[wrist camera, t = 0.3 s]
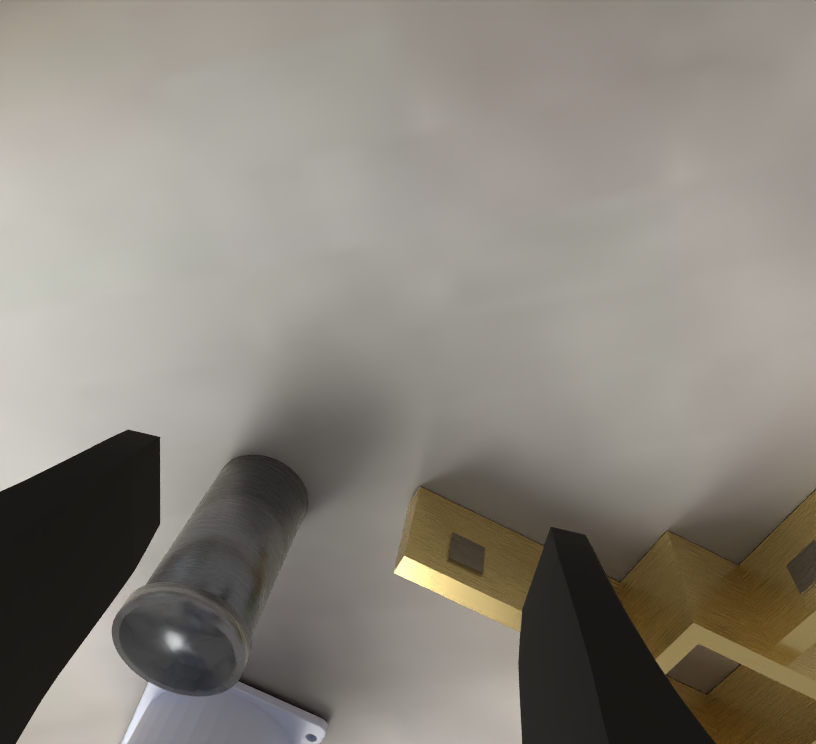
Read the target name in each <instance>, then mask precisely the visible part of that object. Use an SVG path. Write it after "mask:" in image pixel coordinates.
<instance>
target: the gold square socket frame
mask: <svg viewBox="0 0 816 744" xmlns="http://www.w3.org/2000/svg"><path fill="white" fill-rule="evenodd" d="M543 548H544V546H543V545H541V544H538V543H536V542H534V541H532V540H530V539H528V538H526V537H524V536H522V535H520V534H518V533H516V532H514V531H512V530H509V529H507V528H505V527H503V526H501V525H499V524H497V523H495V522H493V521H491V520H489V519H487V518H485V517H482V516H480V515H478V514H476V513H474V512H472V511H470V510H468V509H466V508H464V507H462V506H460V505H458V504H455V503H453V502H451V501H449V500H447V499H445V498H443V497H441V496H439V495H437V494H435V493H433V492H431V491H428V490H426V489H424V488H422V487H419V488H418V490H417V492H416V493H415V495H414V497H413V498H412V500H411V501H410V504H409V509H408V513H407V517H406V521H405V526H404V530H403V534H402V539H401V543H400V547H399V551H398V556H397V560H396V564H395V569H394V573H395V574H397V575H399V576H401V577H404V578H406V579H408V580H410V581H412V582H414V583H416V584H418V585H421V586H423V587H425V588H427V589H429V590H431V591H433V592H436V593H438V594H440V595H442V596H444V597H446V598H448V599H450V600H453V601H455V602H457V603H459V604H461V605H463V606H465V607H468V608H470V609H472V610H474V611H476V612H478V613H480V614H482V615H485V616H487V617H489V618H491V619H493V620H495V621H497V622H500V623H502V624H504V625H506V626H508V627H510V628H512V629H514V630H517V631H519V632H520V631H521V618H522V608H523V605H524V603H525V600H526V597H527V594H528V591H529V588H530V585H531V582H532V580H533V577H534V574H535V571H536V568H537V565H538V562H539V559H540V557H541V554H542V551H543ZM608 579H609V581H610V583H611V585H612V586H613V588H614V590H615V592H616V594H617V596H618V598H619V599H620V601H621V603H622V605H623V607H624V608H625V610H626V612H627V614H628V615H629V617H630V619H631V620H632V622H633V624H634V625H635V627H636V629H637V631H638V632H639V634H640V636H641V637H642V639H643V641H644V642H645V644H646V646H647V647H648V649H649V650H650V652H651V654H652V655H653V657H654V659H655V660H656V662H657V663H658V665H659V666H660V668H661V669H662V671H663V672H664V674H665V675H666V674H667V673H668V672H669V671H670V670H671V669H672V668H673V667H674V666H675V665H676V664H677V663H678V662H679V661H680V660H682V659H683V658H684V657H685V656H686V655H687V654H688V653H689V652H690V651H691V650H692V649H693V648H694V647H695V646H696V645H698V644H700V645H702V646H704V647H706V648H708V649H710V650H712V651H715V652H717V653H719V654H721V655H723V656H725V657H727V658H729V659H731V660H733V661H735V662H738V663H740V664H742V665H740V666H739V667H738V668H737V669H736V670H735V671H734V672H732V673H731V674H730V675H729V676H728V677H727V678H726V679H724V680H723V681H722V682H721V683H720V684H719V685H718V686H716V687H715V688H714V689H713V690H712V691H711V692H710V693H708V694H707V695H706V694H703V693H701V692H699V691H697V690H695V689H693V688H691V687H689V686H686V685H684V684H682V683H680V682H678V681H676V680H674V679H672V678H670V677H667V676H666V677H667V678H668V680H669V681H670V683H671V684H672V686H673V687H674V689H675V690H676V692H677V693H678V694H679V696H680V697H681V699H682V700H683V701H684V703H685V704H686V706H687V707H688V708H689V709H690V711H691V712H692V713H693V715H694V716H695V717H696V719H697V720H698V721H699V722H700V724H701V725H702V726H703V728H704V729H705V730H706V732H707V733H708V734H709V735H710V737H711V738H712V739H713V741H714V742H715V743H716V744H816V490H815V491H814V492H813V493H812V494H811V495H810V496H809V497H808V498H807V499H806V500H805V501H804V502H803V503H802V504H801V505H800V506H799V507H798V508H797V509H796V510H795V511H794V512H793V513H792V514H791V515H789V516H788V517H787V518H786V519H785V520H784V521H783V522H782V523H781V524H780V525H779V526H778V527H777V528H776V529H775V530H774V531H773V532H772V533H771V534H770V535H769V536H768V537H767V538H766V539H765V540H764V541H763V542H762V543H761V544H760V545H759V546H758V547H757V548H756V549H755V550H754V551H753V552H752V553H751V554H750V555H749V556H748V557H747V558H746V559H745V560H744V561H743V562H742V563H741V564H739V565H736V564H734V563H732V562H730V561H728V560H726V559H724V558H722V557H720V556H718V555H716V554H714V553H712V552H710V551H708V550H706V549H704V548H702V547H700V546H698V545H696V544H694V543H692V542H690V541H688V540H685V539H683V538H681V537H679V536H677V535H675V534H673V533H671V532H669V531H667V532H666V533H665V534H664V535H663V536H662V537H661V538H660V539H659V540H658V542H657V543H656V544H655V545H654V546H653V547H652V548H651V549H650V550H649V551H648V553H647V554H646V555H645V556H644V557H643V558H642V559H641V560H640V561H639V562H638V564H637V565H636V566H635V567H634V568H633V569H632V570H631V571H630V572H629V573H628V574H627V576H626V577H625V578H624V579H623V580H622V581H621V582H620V583H619V582H617V581H615V580H613V579H611V578H609V577H608Z"/></svg>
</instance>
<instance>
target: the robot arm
mask: <svg viewBox="0 0 816 744" xmlns="http://www.w3.org/2000/svg"><path fill="white" fill-rule="evenodd" d="M159 525H160V437H158V436H153V435H149V434H145V433H140V432H136V431H132V430H126V431H124V432H122V433H120V434H117V435H115V436H113V437H111V438H109V439H107V440H105V441H103V442H101V443H99V444H97V445H95V446H93V447H91V448H89V449H87V450H85V451H83V452H81V453H79V454H77V455H75V456H73V457H71V458H69V459H67V460H65V461H63V462H61V463H59V464H57V465H55V466H53V467H51V468H49V469H47V470H45V471H43V472H41V473H39V474H37V475H35V476H33V477H31V478H29V479H27V480H25V481H23V482H21V483H19V484H16V485H14V486H12V487H10V488H7V489H5V490H3V491H1V492H0V744H16V742H17V740H18V739H19V737H20V735H21V734H22V732H23V730H24V729H25V727H26V725H27V724H28V722H29V720H30V719H31V717H32V715H33V714H34V712H35V710H36V709H37V707H38V705H39V704H40V702H41V700H42V699H43V697H44V696H45V694H46V693H47V691H48V690H49V688H50V687H51V685H52V684H53V682H54V681H55V679H56V678H57V676H58V675H59V674H60V672H61V671H62V670H63V668H64V667H65V666H66V664H67V663H68V661H69V660H70V659H71V657H72V656H73V655H74V653H75V652H76V651H77V649H78V648H79V646H80V645H81V644H82V642H83V641H84V640H85V638H86V637H87V636H88V634H89V633H90V631H91V630H92V629H93V627H94V626H95V625H96V623H97V622H98V621H99V619H100V618H101V617H102V615H103V614H104V612H105V611H106V610H107V608H108V607H109V606H110V604H111V603H112V601H113V600H114V599H115V597H116V596H117V594H118V593H119V592H120V590H121V589H122V588H123V586H124V585H125V583H126V582H127V581H128V579H129V578H130V576H131V575H132V573H133V572H134V571H135V569H136V567H137V565H138V563H139V562H140V560H141V558H142V556H143V555H144V553H145V551H146V549H147V547H148V546H149V544H150V542H151V540H152V538H153V536H154V534H155V532H156V530H157V528H158V527H159ZM518 664H519V687H520V708H521V726H522V744H716V743H715V742H714V741H713V739H712V738H711V737H710V735H709V734H708V733H707V732H706V730H705V729H704V728H703V726H702V725H701V724H700V722H699V721H698V720H697V719H696V717H695V716H694V715H693V713H692V712H691V711H690V709H689V708H688V707H687V706H686V704H685V703H684V701H683V700H682V699H681V697H680V696H679V694H678V693H677V692H676V690H675V689H674V687H673V686H672V684H671V683H670V681H669V680H668V678H667V677H666V675H665V674H664V672H663V671H662V669H661V668H660V666H659V665H658V663H657V662H656V660H655V659H654V657H653V655H652V654H651V652H650V650H649V649H648V647H647V646H646V644H645V642H644V641H643V639H642V637H641V636H640V634H639V632H638V631H637V629H636V627H635V625H634V624H633V622H632V620H631V619H630V617H629V615H628V614H627V612H626V610H625V608H624V607H623V605H622V603H621V601H620V599H619V598H618V596H617V594H616V592H615V590H614V588H613V586H612V585H611V583H610V581H609V579H608V577H607V575H606V573H605V571H604V569H603V567H602V566H601V564H600V562H599V560H598V558H597V556H596V554H595V552H594V550H593V548H592V546H591V544H590V542H589V540H588V539H587V537H586V536H585V535H584V534H579V533H575V532H570V531H566V530H562V529H557V528H553V527H551V528H550V531H549V534H548V536H547V539H546V542H545V545H544V548H543V551H542V554H541V557H540V559H539V562H538V565H537V568H536V571H535V574H534V577H533V580H532V582H531V585H530V588H529V591H528V594H527V597H526V600H525V603H524V605H523V608H522V618H521V631H520V646H519V663H518ZM327 729H328V724H327V722H326V721H325V720H323V719H322V718H320V717H317V716H315V715H313V714H311V713H309V712H306V711H304V710H302V709H300V708H297V707H295V706H293V705H291V704H288V703H286V702H284V701H282V700H279V699H277V698H275V697H273V696H270V695H268V694H266V693H264V692H261V691H259V690H257V689H255V688H252V687H250V686H248V685H246V684H243V683H241V682H239V681H238V682H237V683H236V684H235V685H234V686H233V687H232V688H230V689H229V690H227V691H225V692H223V693H220V694H216V695H211V696H202V697H198V696H186V695H181V694H176V693H173V692H170V691H167V690H164V689H162V688H159V687H157V686H155V685H153V684H151V683H150V682H148V684H147V686H146V688H145V690H144V693H143V695H142V697H141V700H140V702H139V704H138V706H137V709H136V711H135V713H134V715H133V718H132V720H131V722H130V725H129V727H128V729H127V731H126V734H125V736H124V738H123V741H122V743H121V744H320V743H321V741H322V740H323V739H324V737H325V736H326V733H327Z"/></svg>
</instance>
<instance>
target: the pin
mask: <svg viewBox="0 0 816 744" xmlns="http://www.w3.org/2000/svg"><path fill="white" fill-rule="evenodd" d="M307 504H308V498H307V493H306V489H305V487H304V485H303V483H302V481H301V480H300V478H299V477H298V476H297V475H296V474H295V473H294V472H293V471H292V470H291V469H290V468H289V467H287V466H286V465H284V464H283V463H281V462H279V461H277V460H274V459H272V458H269V457H265V456H258V455H248V456H242V457H239V458H236V459H234V460H232V461H231V462H229V463H228V464H227V465H226V466H225V467H224V468H223V469H222V471H221V472H220V474H219V475H218V477H217V478H216V480H215V481H214V483H213V484H212V486H211V487H210V489H209V490H208V492H207V493H206V495H205V496H204V498H203V499H202V501H201V502H200V504H199V505H198V507H197V508H196V510H195V511H194V513H193V514H192V516H191V517H190V519H189V520H188V522H187V523H186V525H185V526H184V528H183V529H182V531H181V532H180V534H179V535H178V537H177V538H176V540H175V541H174V543H173V545H172V546H171V548H170V549H169V551H168V552H167V554H166V555H165V557H164V558H163V560H162V561H161V563H160V564H159V566H158V567H157V569H156V570H155V572H154V573H153V575H152V576H151V578H150V579H149V581H148V582H147V584H146V585H145V586H143V587H141V588H139V589H137V590H136V591H135V592H133V593H132V594H131V595H130V597H129V598H128V599H127V601H126V602H125V603H124V605H123V606H122V608H121V609H120V611H119V612H118V614H117V615H116V617H115V619H114V621H113V625H112V638H113V642H114V645H115V647H116V650H117V652H118V653H119V655H120V656H121V658H122V659H123V660H124V662H125V663H126V664H127V665H128V666H129V667H130V668H131V669H132V670H133V671H134V672H135V673H136V674H138V675H139V676H140V677H142V678H143V679H145V680H146V681H148V682H150V683H151V684H153V685H155V686H157V687H159V688H162V689H164V690H167V691H170V692H173V693H176V694H181V695H186V696H198V697H202V696H211V695H216V694H220V693H223V692H225V691H227V690H229V689H230V688H232V687H233V686H234V685H235V684H236V683H237V682H238V680H239V679H240V678H241V675H242V673H243V671H244V668H245V666H246V664H247V661H248V659H249V657H250V654H251V649H252V642H251V635H252V632H253V630H254V628H255V626H256V623H257V621H258V619H259V616H260V614H261V612H262V610H263V607H264V605H265V603H266V601H267V598H268V596H269V594H270V591H271V589H272V587H273V585H274V582H275V580H276V578H277V576H278V573H279V571H280V569H281V566H282V564H283V562H284V560H285V557H286V555H287V553H288V551H289V548H290V546H291V544H292V541H293V539H294V537H295V535H296V532H297V530H298V528H299V526H300V523H301V521H302V519H303V516H304V514H305V512H306V509H307Z"/></svg>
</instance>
